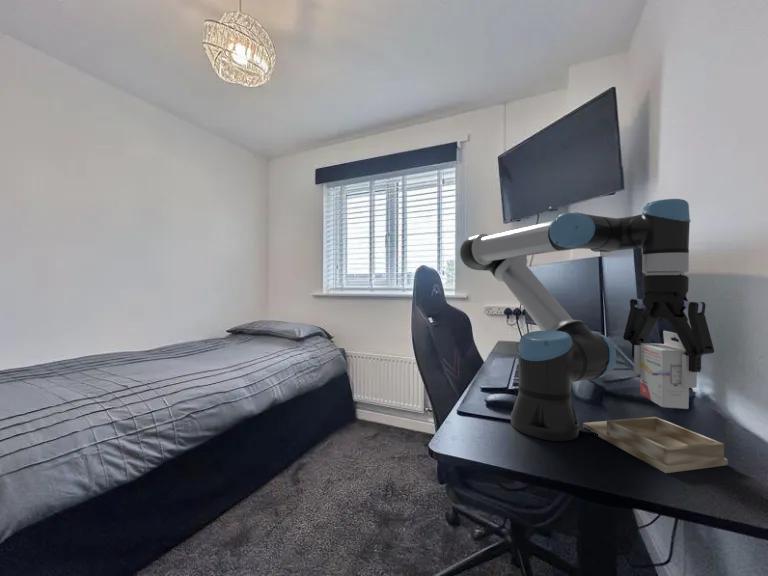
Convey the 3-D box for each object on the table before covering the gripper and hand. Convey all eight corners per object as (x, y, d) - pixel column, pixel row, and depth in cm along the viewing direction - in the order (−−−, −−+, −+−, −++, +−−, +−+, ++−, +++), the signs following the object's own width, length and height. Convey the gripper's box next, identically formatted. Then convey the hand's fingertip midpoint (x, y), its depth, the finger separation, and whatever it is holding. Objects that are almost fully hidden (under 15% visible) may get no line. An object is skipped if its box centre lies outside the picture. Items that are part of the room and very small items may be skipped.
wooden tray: (582, 427, 82) (583, 410, 82) (633, 423, 85) (633, 406, 85) (665, 473, 63) (666, 451, 63) (727, 465, 66) (728, 444, 66)
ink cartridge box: (638, 394, 76) (639, 329, 75) (663, 395, 75) (664, 330, 74) (661, 407, 67) (662, 334, 67) (690, 409, 66) (691, 335, 66)
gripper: (743, 273, 60) (741, 396, 61) (631, 275, 82) (630, 366, 82) (711, 272, 59) (708, 398, 59) (605, 275, 81) (604, 367, 81)
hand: (663, 380), depth 71 cm, fingers closed on ink cartridge box, 9 cm apart
